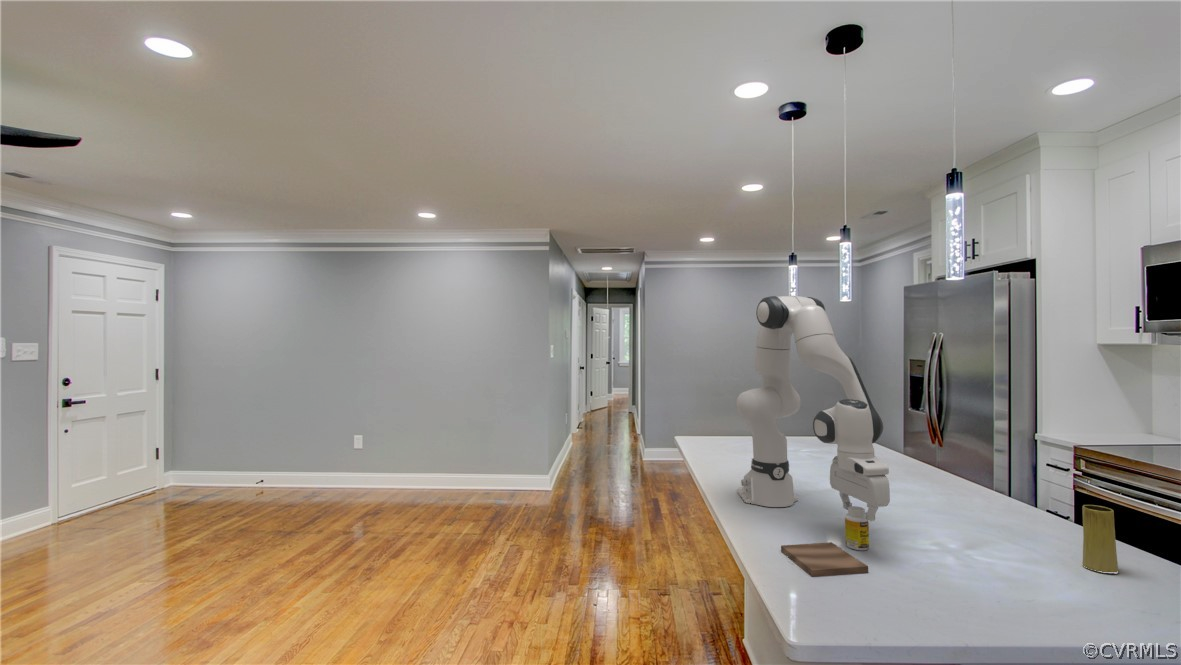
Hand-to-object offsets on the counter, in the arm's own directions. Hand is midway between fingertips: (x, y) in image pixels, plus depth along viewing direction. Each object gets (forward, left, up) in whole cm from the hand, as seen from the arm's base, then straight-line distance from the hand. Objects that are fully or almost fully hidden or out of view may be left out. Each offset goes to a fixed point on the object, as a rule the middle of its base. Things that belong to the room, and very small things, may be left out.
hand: (858, 514), depth 136 cm
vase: (+20, +47, -9) cm, 52 cm away
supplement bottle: (-1, 0, -9) cm, 9 cm away
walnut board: (+6, -14, -9) cm, 18 cm away
